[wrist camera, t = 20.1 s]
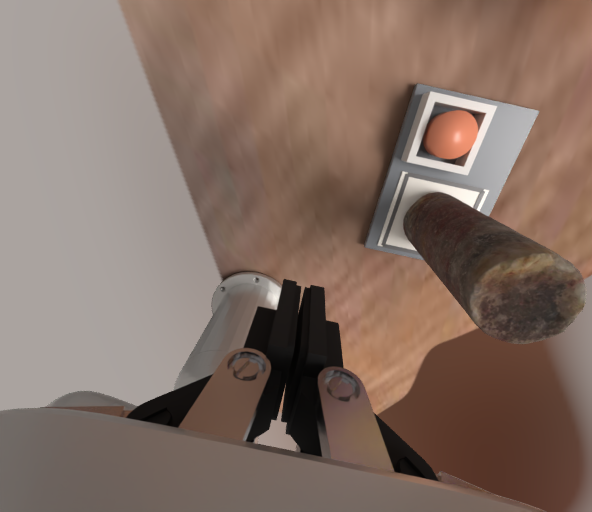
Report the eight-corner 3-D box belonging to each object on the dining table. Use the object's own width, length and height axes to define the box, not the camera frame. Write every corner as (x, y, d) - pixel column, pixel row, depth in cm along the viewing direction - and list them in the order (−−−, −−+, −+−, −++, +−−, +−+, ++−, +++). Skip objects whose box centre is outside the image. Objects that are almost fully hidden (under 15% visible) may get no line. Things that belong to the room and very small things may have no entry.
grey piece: (460, 265, 41) (472, 276, 38) (364, 244, 41) (367, 254, 38) (533, 111, 33) (556, 109, 30) (415, 84, 33) (425, 79, 30)
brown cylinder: (423, 257, 40) (514, 363, 22) (387, 222, 38) (451, 303, 20) (471, 217, 37) (621, 299, 19) (435, 178, 36) (558, 225, 17)
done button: (456, 161, 34) (466, 163, 32) (416, 152, 34) (423, 153, 32) (474, 117, 32) (486, 115, 30) (432, 107, 32) (440, 105, 30)
